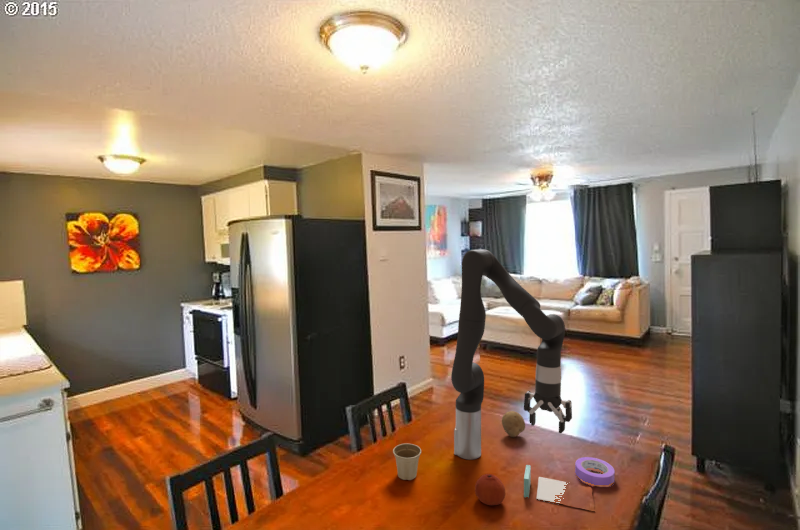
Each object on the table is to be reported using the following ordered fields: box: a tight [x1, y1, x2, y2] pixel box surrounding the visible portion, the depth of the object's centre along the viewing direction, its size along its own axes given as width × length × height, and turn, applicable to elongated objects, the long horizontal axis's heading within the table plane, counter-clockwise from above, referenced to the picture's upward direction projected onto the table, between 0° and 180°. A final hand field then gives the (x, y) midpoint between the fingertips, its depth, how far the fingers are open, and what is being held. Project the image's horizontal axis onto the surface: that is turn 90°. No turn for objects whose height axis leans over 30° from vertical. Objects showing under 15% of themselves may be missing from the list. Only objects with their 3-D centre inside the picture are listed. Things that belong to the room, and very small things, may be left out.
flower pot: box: [392, 442, 422, 481], centre depth 137 cm, size 9×9×9 cm
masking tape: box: [574, 456, 616, 485], centre depth 134 cm, size 12×12×4 cm
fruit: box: [474, 473, 506, 506], centre depth 122 cm, size 9×9×8 cm
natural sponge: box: [501, 410, 526, 438], centre depth 162 cm, size 9×9×10 cm
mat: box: [536, 476, 568, 503], centre depth 126 cm, size 16×12×1 cm
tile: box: [523, 464, 532, 499], centre depth 128 cm, size 1×8×6 cm, turn 158°
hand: (546, 428), depth 129 cm, fingers open, 8 cm apart
